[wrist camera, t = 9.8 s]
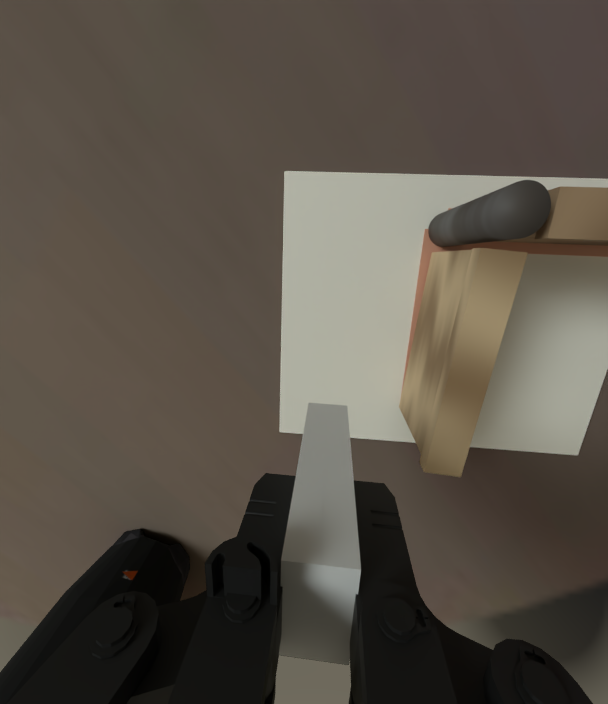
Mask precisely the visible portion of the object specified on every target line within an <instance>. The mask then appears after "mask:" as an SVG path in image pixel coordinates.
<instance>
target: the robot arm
mask: <svg viewBox="0 0 608 704" xmlns="http://www.w3.org/2000/svg"><path fill="white" fill-rule="evenodd" d="M398 514H399V513H398V509H397V505H396V501H395V497H394V496H393V495H392V493H391V492H390V491H389V489H388V488H387V487H386V485H385V484H384V483H374V482H363V481H354V479H353V468H352V456H351V444H350V432H349V420H348V408H347V406H346V405H333V404H320V403H309V404H308V409H307V415H306V421H305V426H304V432H303V438H302V443H301V449H300V455H299V461H298V466H297V472H296V476H289V475H279V474H269V473H266V474H265V475H264V476H263V477H262V478H261V479H260V480H259V481H258V482H257V483H256V484H255V486H254V489H253V491H252V494H251V497H250V502H249V503H248V506H247V509H246V513H245V515H244V517H243V520H242V523H241V526H240V529H239V532H238V535H237V537H235V538H232V539H230V540H227V541H225V542H223V543H222V544H221V545H219V546H218V547H217V548H216V549H214V550H213V551H212V553H211V554H210V556H209V557H208V559H207V561H206V562H205V574H206V587H207V590H206V591H204V592H203V593H201V594H199V595H197V596H195V597H192V598H189V599H186V600H182V601H177V602H173V603H168V604H164V605H160V606H156V603H155V600H153V599H152V598H151V597H150V596H149V595H148V594H147V593H142V592H137V591H131V592H126V593H122V594H118V595H116V596H114V597H112V598H110V599H108V600H107V601H105V602H103V603H101V604H100V605H99V606H98V607H97V608H96V609H95V610H93V611H92V612H91V613H90V614H89V615H88V616H87V617H86V618H85V619H84V620H83V621H82V622H81V623H80V624H79V625H78V627H77V628H76V629H75V630H74V631H73V632H72V633H71V634H70V635H69V636H68V637H67V639H66V640H65V641H64V642H63V643H62V644H61V645H60V646H59V647H58V648H57V649H56V651H55V652H54V653H53V654H52V655H51V656H50V657H49V658H48V659H47V660H46V661H45V663H44V664H43V665H42V666H41V667H40V668H39V669H38V670H37V671H36V672H35V673H34V675H33V676H32V677H31V678H30V679H29V680H28V681H27V682H26V683H25V684H24V685H23V687H22V688H21V689H20V690H19V691H18V692H17V693H16V694H15V695H14V696H13V697H12V699H11V700H10V701H9V702H8V703H7V704H274V700H275V680H276V679H275V678H276V671H277V664H278V657H279V655H281V656H288V657H295V658H302V659H309V660H316V661H324V662H330V663H337V664H344V665H349V661H350V668H351V691H350V698H349V704H593V703H592V702H591V701H590V699H589V698H588V697H587V696H586V694H585V693H584V692H583V690H582V688H581V687H580V686H579V685H578V683H577V682H576V681H575V680H574V679H573V677H572V676H571V675H570V674H569V673H568V672H567V671H566V670H565V669H564V667H563V666H562V665H561V664H560V663H559V662H557V661H556V660H555V659H554V658H552V657H551V656H550V655H548V654H547V653H546V652H544V651H543V650H542V649H540V648H538V647H536V646H534V645H532V644H530V643H527V642H525V641H523V640H513V639H506V640H504V641H502V642H500V643H498V644H496V645H495V648H494V650H492V649H489V648H487V647H485V646H483V645H481V644H479V643H477V642H475V641H473V640H470V639H469V638H466V637H464V636H462V635H460V634H458V633H456V632H455V631H453V630H451V629H450V628H448V627H447V626H445V625H444V624H443V623H442V622H441V621H439V620H438V619H437V618H436V617H435V616H434V615H433V614H432V612H431V611H430V610H429V609H428V608H427V606H426V605H425V603H424V601H423V600H422V598H421V596H420V594H419V591H418V588H417V586H416V582H415V578H414V574H413V570H412V565H411V561H410V557H409V553H408V549H407V545H406V541H405V537H404V533H403V530H402V525H401V521H400V517H399V515H398Z"/></svg>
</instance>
